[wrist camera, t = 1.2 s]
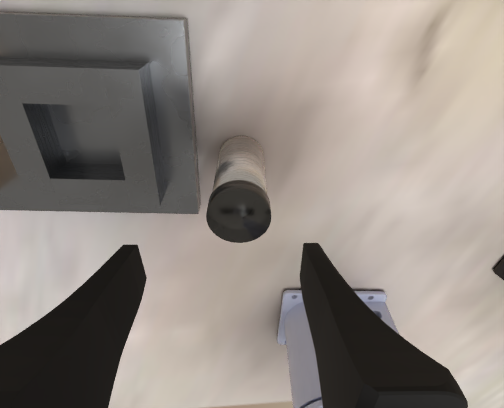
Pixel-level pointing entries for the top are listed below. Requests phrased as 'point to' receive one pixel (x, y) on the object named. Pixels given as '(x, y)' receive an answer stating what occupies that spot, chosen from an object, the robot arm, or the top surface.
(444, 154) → the top surface
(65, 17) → the square socket plate
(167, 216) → the top surface
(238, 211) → the shiny metal cylinder
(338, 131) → the top surface
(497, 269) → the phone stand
